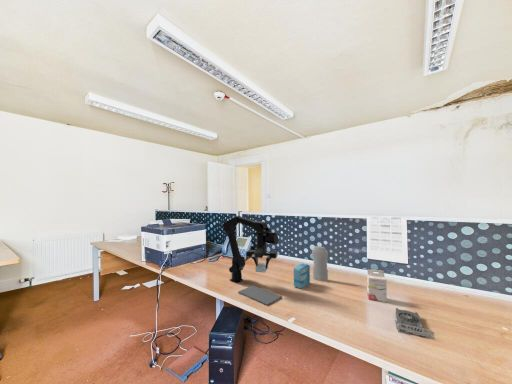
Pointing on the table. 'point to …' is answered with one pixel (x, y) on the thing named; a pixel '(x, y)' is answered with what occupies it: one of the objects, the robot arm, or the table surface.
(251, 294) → the mat
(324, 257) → the tall pale column
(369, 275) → the ink cartridge box
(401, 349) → the table surface
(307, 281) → the data package
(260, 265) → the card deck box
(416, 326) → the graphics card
